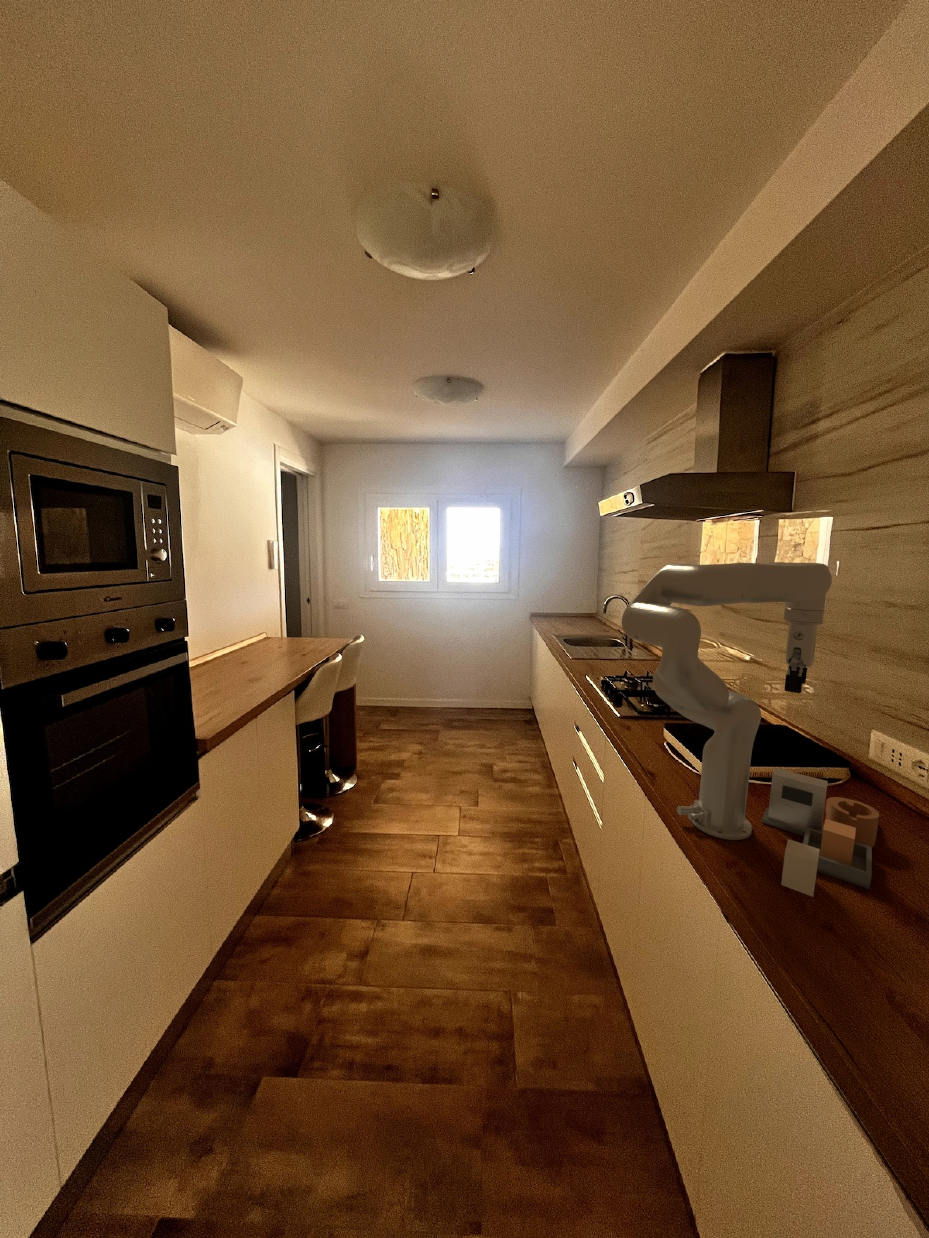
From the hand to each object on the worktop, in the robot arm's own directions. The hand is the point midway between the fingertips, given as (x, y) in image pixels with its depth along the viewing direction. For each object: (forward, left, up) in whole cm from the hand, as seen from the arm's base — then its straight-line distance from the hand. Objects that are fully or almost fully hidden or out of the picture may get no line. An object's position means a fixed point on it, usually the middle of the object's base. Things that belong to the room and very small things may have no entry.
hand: (795, 687), depth 117 cm
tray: (-4, -22, -30) cm, 38 cm away
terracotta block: (-4, -22, -30) cm, 37 cm away
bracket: (+9, -9, -31) cm, 33 cm away
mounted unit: (-3, -9, -30) cm, 32 cm away
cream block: (-16, -28, -30) cm, 44 cm away
